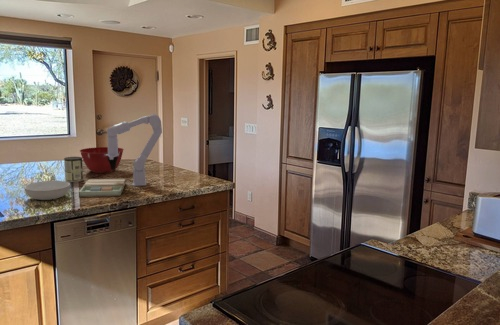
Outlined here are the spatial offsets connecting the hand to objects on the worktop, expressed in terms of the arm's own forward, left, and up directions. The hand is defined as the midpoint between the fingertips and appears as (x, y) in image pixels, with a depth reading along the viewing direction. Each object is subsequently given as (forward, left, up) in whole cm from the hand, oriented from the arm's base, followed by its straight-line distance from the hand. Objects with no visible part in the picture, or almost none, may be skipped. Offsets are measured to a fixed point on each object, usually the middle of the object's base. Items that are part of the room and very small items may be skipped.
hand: (113, 169), depth 230 cm
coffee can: (-14, -25, -10) cm, 30 cm away
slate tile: (+19, -7, -7) cm, 22 cm away
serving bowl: (+27, -29, -10) cm, 41 cm away
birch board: (+5, -4, -9) cm, 11 cm away
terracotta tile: (+19, -1, -7) cm, 20 cm away
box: (+20, -4, -9) cm, 22 cm away
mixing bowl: (-41, -12, -10) cm, 44 cm away
